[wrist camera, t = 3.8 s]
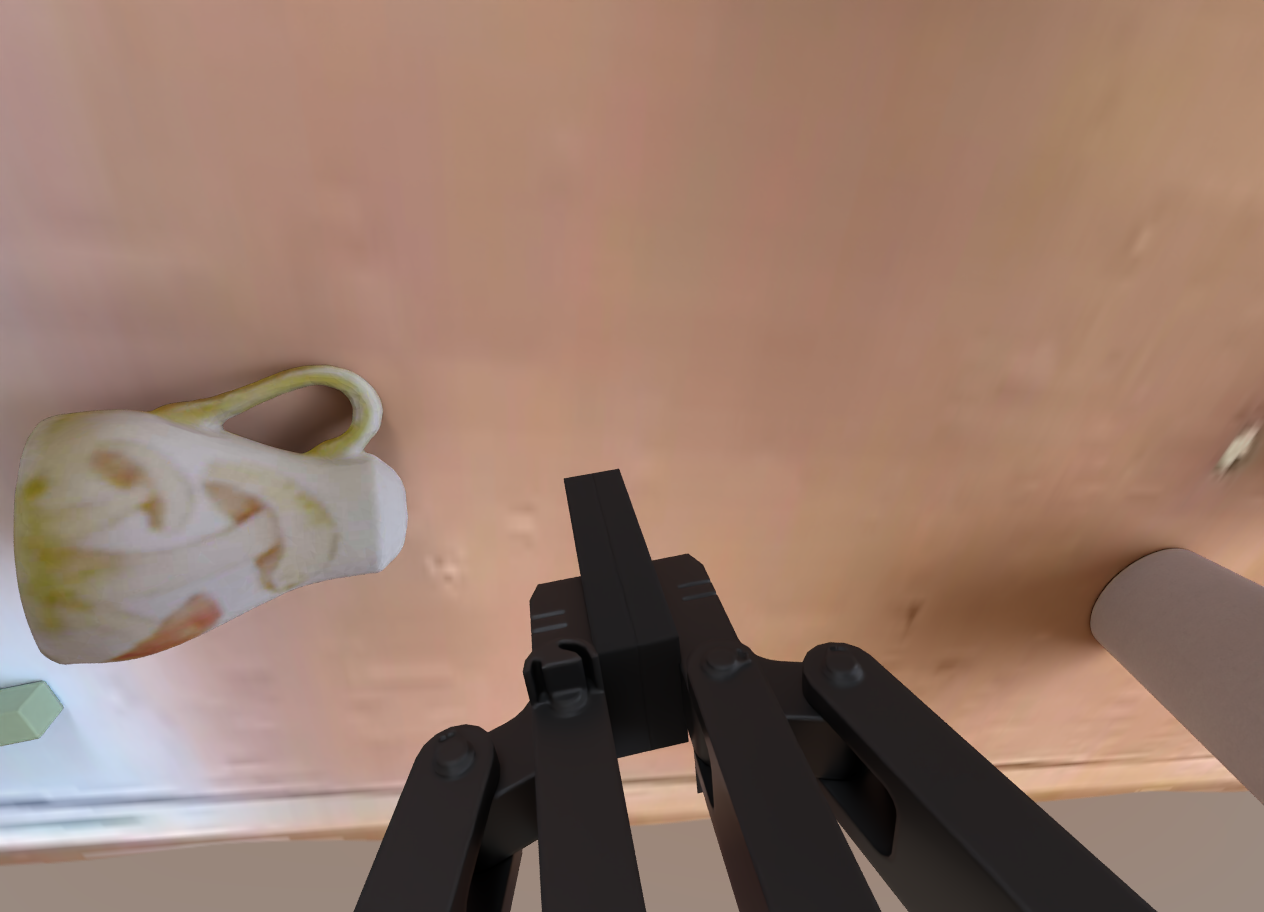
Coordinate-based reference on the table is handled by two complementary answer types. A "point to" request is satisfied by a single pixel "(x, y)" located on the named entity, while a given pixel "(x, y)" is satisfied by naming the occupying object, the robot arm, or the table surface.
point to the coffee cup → (1194, 650)
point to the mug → (191, 518)
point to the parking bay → (26, 712)
